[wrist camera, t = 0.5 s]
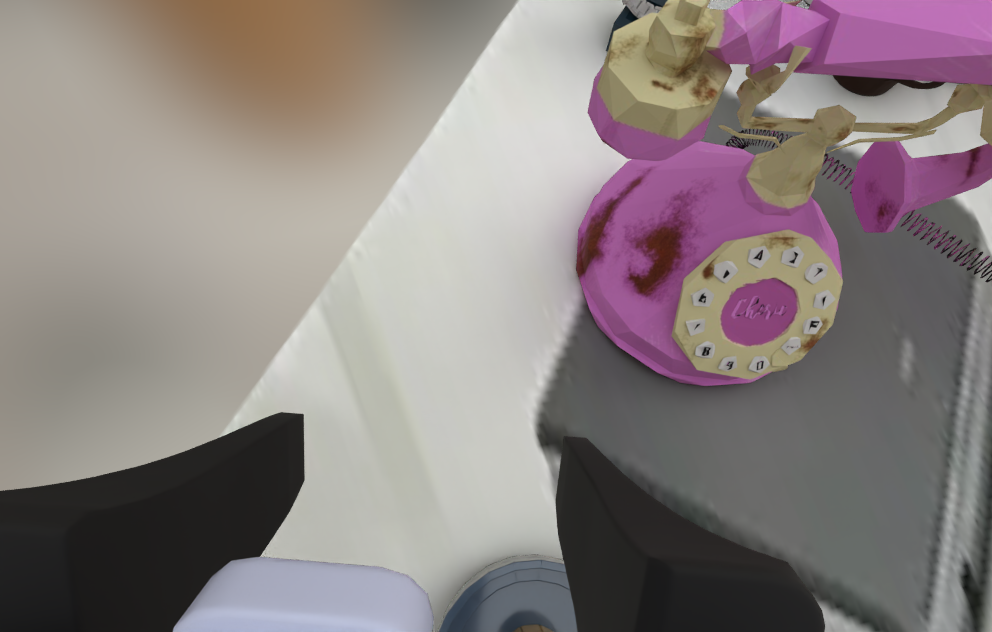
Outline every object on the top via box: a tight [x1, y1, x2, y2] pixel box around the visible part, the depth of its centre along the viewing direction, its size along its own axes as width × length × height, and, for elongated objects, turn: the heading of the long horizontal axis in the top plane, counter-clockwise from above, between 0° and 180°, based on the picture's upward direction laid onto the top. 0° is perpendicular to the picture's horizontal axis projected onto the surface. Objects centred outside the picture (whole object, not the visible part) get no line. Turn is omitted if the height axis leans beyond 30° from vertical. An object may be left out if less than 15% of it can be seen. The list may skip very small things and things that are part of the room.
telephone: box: [576, 0, 992, 386], centre depth 31 cm, size 36×22×25 cm, turn 89°
